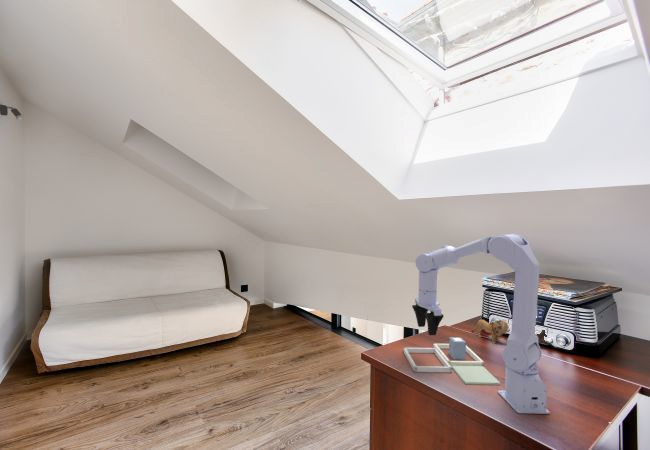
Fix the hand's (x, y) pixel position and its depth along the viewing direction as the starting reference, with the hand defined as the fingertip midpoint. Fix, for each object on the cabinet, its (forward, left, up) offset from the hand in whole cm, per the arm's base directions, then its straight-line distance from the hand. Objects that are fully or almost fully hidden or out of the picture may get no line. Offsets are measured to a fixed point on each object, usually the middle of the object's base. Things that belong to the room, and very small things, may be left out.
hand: (426, 330), depth 105 cm
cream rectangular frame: (+4, -12, -10) cm, 16 cm away
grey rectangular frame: (0, 0, -10) cm, 10 cm away
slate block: (+4, -12, -10) cm, 16 cm away
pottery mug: (+18, -49, -11) cm, 53 cm away
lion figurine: (+20, -32, -11) cm, 39 cm away
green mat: (-9, -12, -10) cm, 18 cm away
